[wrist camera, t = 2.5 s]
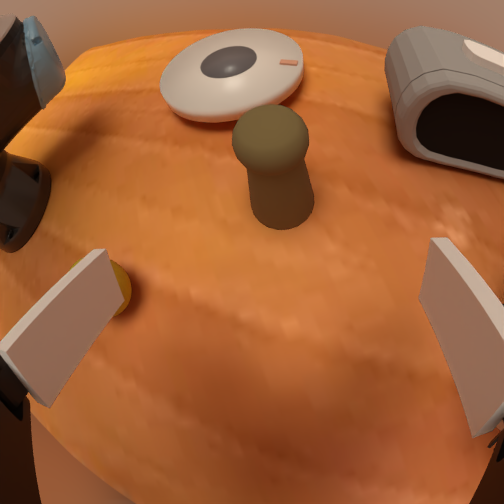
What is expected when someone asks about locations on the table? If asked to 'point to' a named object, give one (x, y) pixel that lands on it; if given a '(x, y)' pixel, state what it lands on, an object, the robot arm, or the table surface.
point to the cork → (275, 164)
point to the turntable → (232, 74)
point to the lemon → (122, 282)
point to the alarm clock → (448, 98)
